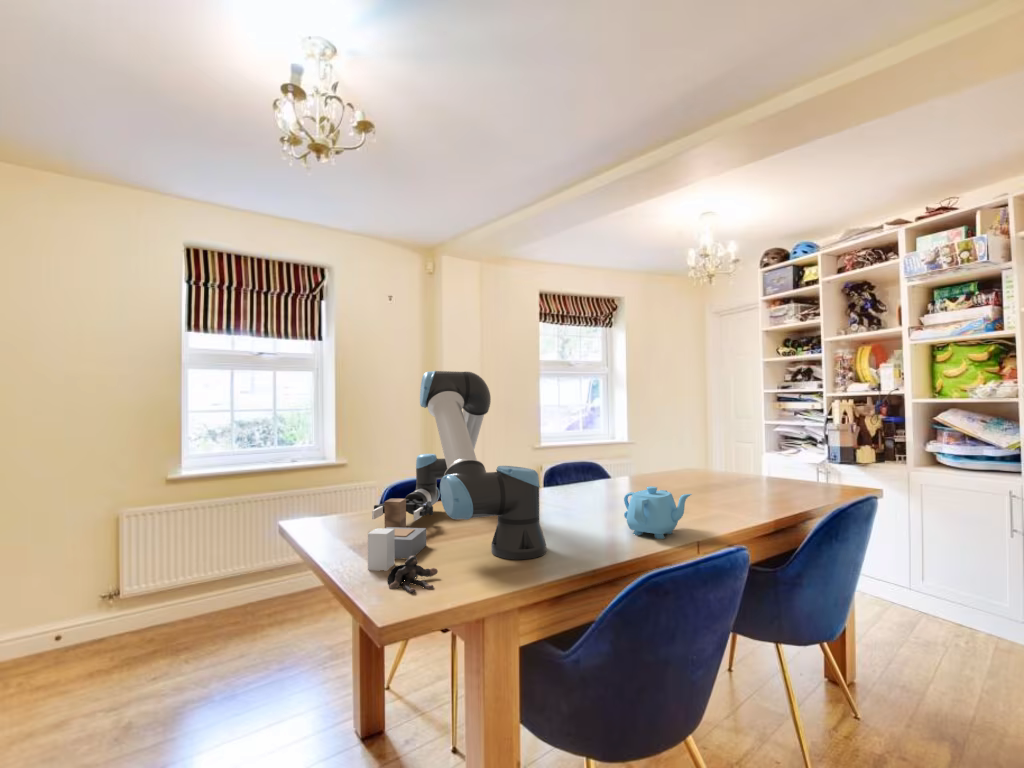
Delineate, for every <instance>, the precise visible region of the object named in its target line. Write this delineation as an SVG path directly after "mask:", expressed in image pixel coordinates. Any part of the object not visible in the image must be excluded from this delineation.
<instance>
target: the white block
mask: <svg viewBox="0 0 1024 768" xmlns="http://www.w3.org/2000/svg"><path fill="white" fill-rule="evenodd" d="M395 559H396V558H395V529H385V528H384V527H383V528H381V527H379V528H377V527H376V528H374V529H373V530H371V531H369V532H367V570H368V571H380V570H384V572H386V571H388V570H389V568H390V567H391V566H392V567H393V566H394V565H395V562H396V561H395ZM392 567H391V568H392ZM391 568H390V569H391Z"/></svg>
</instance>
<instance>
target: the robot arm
mask: <svg viewBox="0 0 1024 768" xmlns="http://www.w3.org/2000/svg"><path fill="white" fill-rule="evenodd" d="M419 404H420V407H421V408H424V409H426V408H427V410H428V413H429V414H430V415H431V416H432V417H434V418H435V423H436V428H437V432H438V435H439V441H440V445H441V447H442V451H443V456H444V458H437V454H436V453H422V454H418V455H417V456H416V461H415V469H416V470H415V472H416V473H415V474H416V475H415V476H416V478H415V479H416V480H415V481H416V483H415V484H416V485H415V490H414V491H413V492H411V493H409V494H407V495H406V496H405V498H404V499H406V513H407V514H410V515H413V521H415V522H416V521H417V520H419V519H421V518H422V517H424V516H428V515H430V516H433V515H434V506H433V505H434V504H436V503H437V502H438V500H439V499H441V505H442V508H443V509H444V512H445V514H446V515H447V516H448V517H449V518H450V519H453V520H470V519H476V518H485V517H487V518H488V517H495V516H497V524H496V528H495V531H494V534H493V538H492V541H491V548H490V549H491V554H492V555H493V556H495V557H498V558H501V559H508V560H530V559H536V558H540V557H542V556H543V555H545V554H546V553H547V543H546V539H545V536H544V532H543V530H542V527H541V523H540V488H541V486H540V477H539V473H538V471H536V470H534V469H532V468H529V467H523V466H522V467H521V466H514V465H513V466H512V465H497V467H496V471H490V472H487V471H486V467H485V465H484V463H482V462H481V461H480V460H478V459H477V457H476V456H477V455H476V453H475V448H476V445H477V441H478V438H479V435H480V430H481V426H482V424H483V420H484V418H485V417H484V416H485V415H486V414H488V412H489V410H490V407H491V392H490V389H489V386H488V385H487V383H486V381H485V380H484V379H483V378H482V377H481V376H480V375H478V374H477V373H474V372H472V371H446V370H443V371H442V370H434V371H433V370H432V371H426V372H424V374H423V375H422V378H421V383H420V391H419ZM437 480H440V483H439V487H437V484H438V482H437ZM382 515H385V502H383V503H380V504H379V503H378V504H375V505H373V509H372V511H371V519H372V520H376V519H378V518H379V517H381V516H382Z"/></svg>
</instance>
